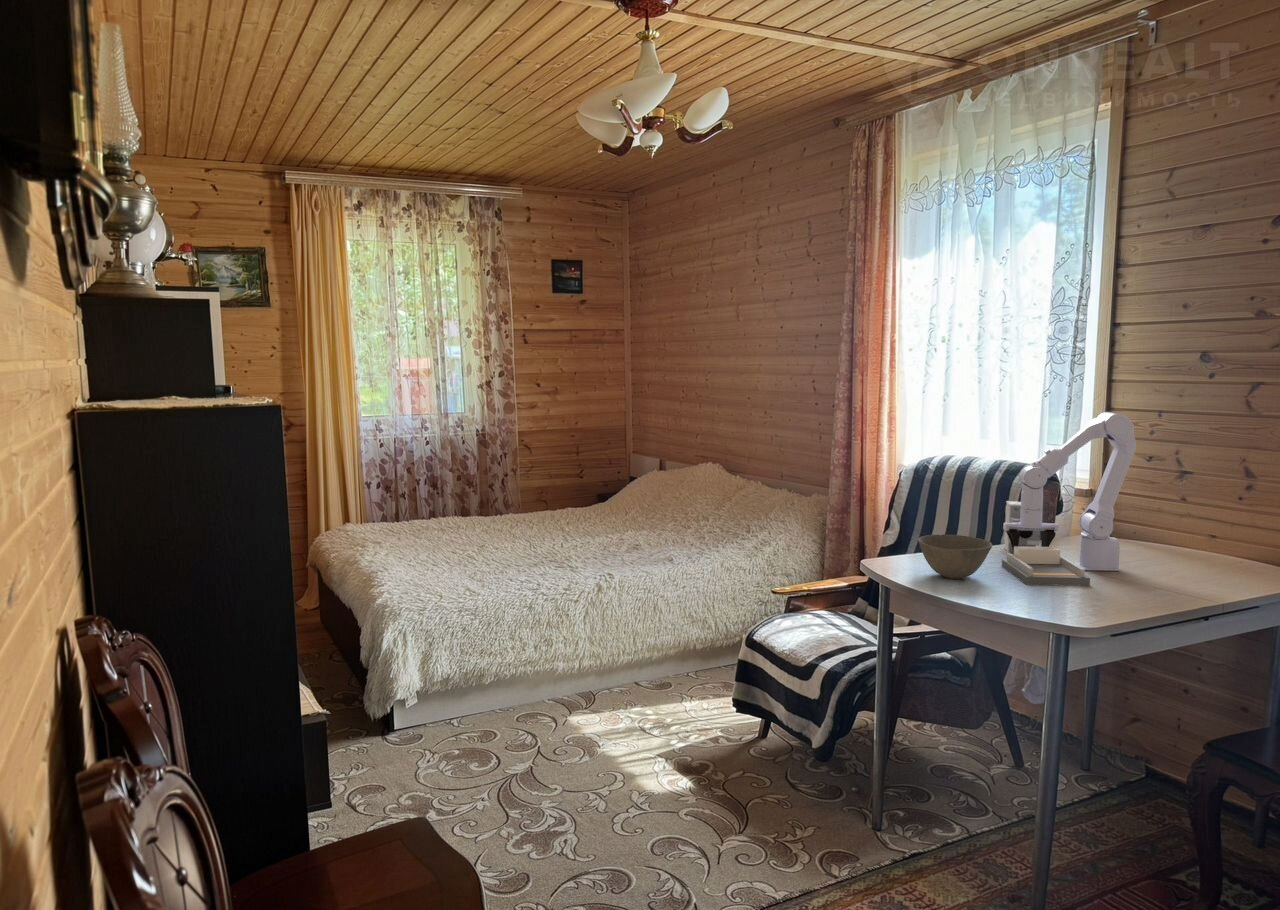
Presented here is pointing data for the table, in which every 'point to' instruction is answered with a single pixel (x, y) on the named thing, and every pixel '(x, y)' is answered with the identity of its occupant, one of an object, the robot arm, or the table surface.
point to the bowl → (954, 554)
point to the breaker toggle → (1037, 555)
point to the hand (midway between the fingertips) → (1029, 555)
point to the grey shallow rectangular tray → (1046, 572)
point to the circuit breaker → (1026, 536)
